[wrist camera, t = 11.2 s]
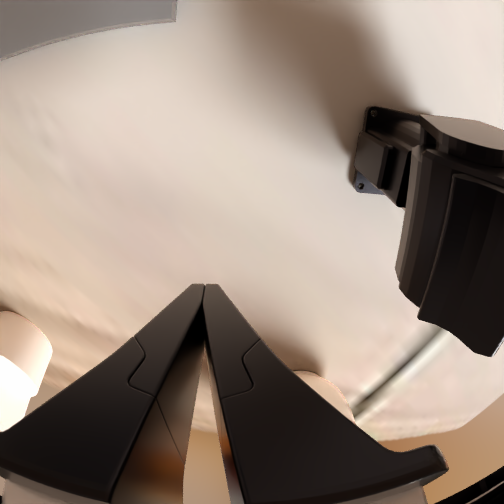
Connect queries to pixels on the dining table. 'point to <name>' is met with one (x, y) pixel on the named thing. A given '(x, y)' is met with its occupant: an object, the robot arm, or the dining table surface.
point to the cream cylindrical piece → (20, 365)
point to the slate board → (72, 20)
